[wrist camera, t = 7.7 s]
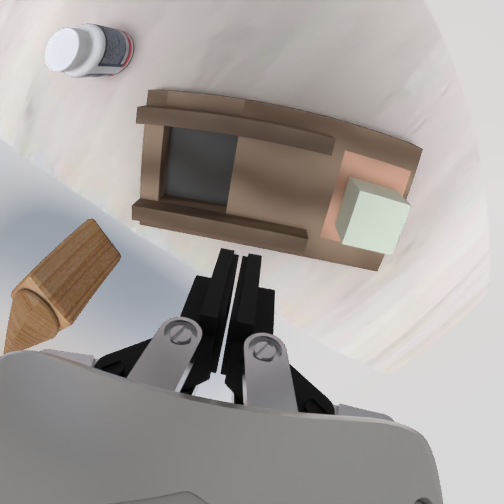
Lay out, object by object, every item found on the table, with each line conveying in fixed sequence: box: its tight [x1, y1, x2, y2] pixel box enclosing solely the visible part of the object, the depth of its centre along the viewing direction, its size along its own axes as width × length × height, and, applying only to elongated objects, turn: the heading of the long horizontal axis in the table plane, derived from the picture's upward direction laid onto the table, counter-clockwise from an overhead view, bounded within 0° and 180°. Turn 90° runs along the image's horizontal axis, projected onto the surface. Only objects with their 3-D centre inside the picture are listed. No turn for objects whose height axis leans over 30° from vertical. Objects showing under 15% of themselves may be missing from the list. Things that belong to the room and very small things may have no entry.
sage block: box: [335, 177, 411, 255], centre depth 26 cm, size 5×5×4 cm
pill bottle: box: [45, 24, 133, 77], centre depth 20 cm, size 5×5×9 cm
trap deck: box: [132, 90, 423, 271], centre depth 28 cm, size 14×26×4 cm, turn 80°
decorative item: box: [4, 219, 121, 354], centre depth 27 cm, size 7×7×20 cm
